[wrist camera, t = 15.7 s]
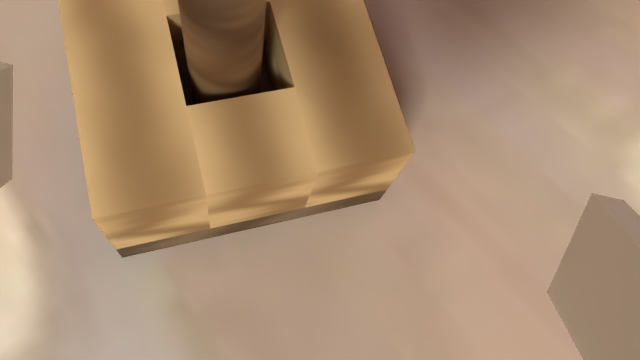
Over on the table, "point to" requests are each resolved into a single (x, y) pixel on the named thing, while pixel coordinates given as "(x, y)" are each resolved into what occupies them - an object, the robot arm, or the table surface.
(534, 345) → the table surface
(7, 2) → the table surface
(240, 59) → the pin
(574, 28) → the table surface
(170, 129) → the socket block
